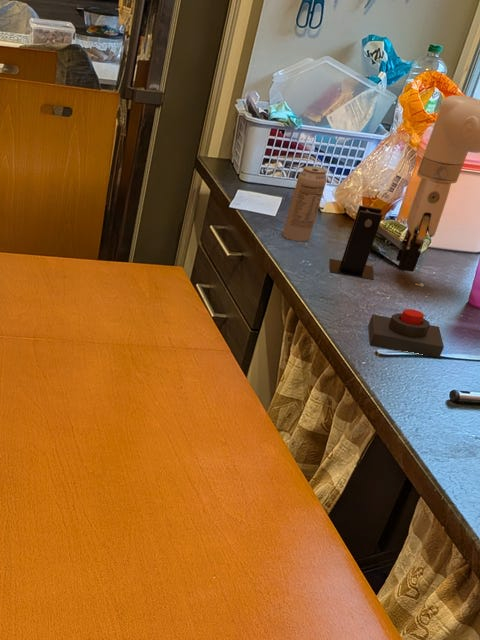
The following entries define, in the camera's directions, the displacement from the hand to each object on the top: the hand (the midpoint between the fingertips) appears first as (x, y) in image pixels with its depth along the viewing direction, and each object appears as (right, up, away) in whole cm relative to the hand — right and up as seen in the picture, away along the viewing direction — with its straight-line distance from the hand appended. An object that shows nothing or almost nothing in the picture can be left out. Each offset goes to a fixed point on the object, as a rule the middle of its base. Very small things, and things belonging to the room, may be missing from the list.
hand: (404, 264), depth 191 cm
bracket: (-10, 0, +4) cm, 11 cm away
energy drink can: (-17, +13, +19) cm, 28 cm away
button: (-10, -21, -25) cm, 34 cm away
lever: (-5, +4, -2) cm, 7 cm away
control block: (-10, -23, -23) cm, 34 cm away
